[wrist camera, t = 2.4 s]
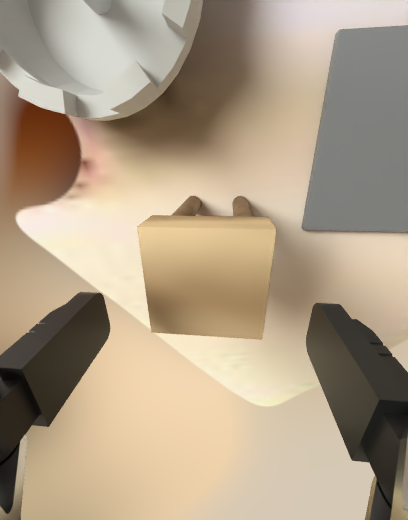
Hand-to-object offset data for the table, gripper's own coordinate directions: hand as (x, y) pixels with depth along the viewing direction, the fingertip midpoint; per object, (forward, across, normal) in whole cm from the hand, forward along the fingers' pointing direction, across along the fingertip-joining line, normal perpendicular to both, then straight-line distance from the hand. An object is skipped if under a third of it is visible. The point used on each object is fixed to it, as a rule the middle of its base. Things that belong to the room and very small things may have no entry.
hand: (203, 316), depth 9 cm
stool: (+12, 0, 0) cm, 12 cm away
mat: (+12, -13, -6) cm, 19 cm away
